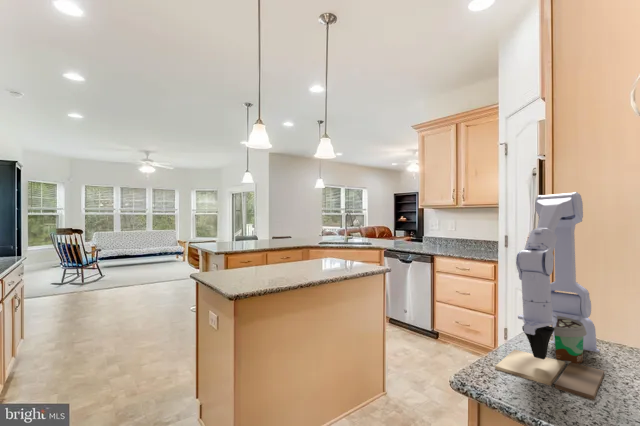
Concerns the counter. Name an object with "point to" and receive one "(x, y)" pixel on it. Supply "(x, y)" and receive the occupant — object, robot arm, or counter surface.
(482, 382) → the counter surface
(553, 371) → the oak plank
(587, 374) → the walnut board
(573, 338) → the food container
